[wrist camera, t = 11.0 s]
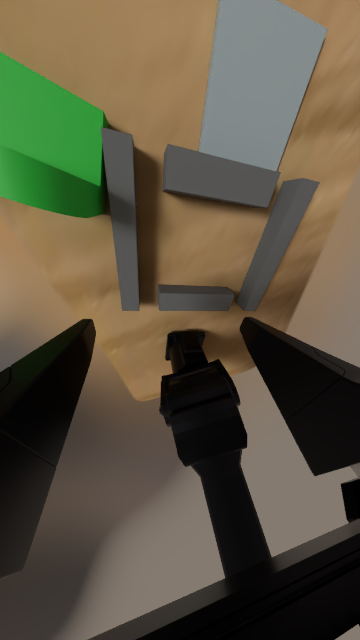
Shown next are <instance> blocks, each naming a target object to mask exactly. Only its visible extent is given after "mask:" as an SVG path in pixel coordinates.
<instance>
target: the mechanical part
mask: <svg viewBox="0 0 360 640" xmlns="http://www.w3.org/2000/svg"><path fill="white" fill-rule="evenodd" d="M100 127H103V128H107V129H108V121H107V119H106V116H105V114H104V112H103V111H102V110H100V109H98V108H96V107H95V106H93V105H91V104H90V103H88V102H86V101H84V100H83V99H81V98H79V97H77V96H76V95H74V94H72V93H70V92H69V91H67V90H65V89H64V88H62V87H60V86H58V85H57V84H55V83H53V82H51V81H50V80H48V79H46V78H45V77H43V76H41V75H39V74H38V73H36V72H34V71H32V70H31V69H29V68H27V67H25V66H24V65H22V64H20V63H19V62H17V61H15V60H13V59H12V58H10V57H8V56H6V55H5V54H3V53H1V52H0V196H1V197H4V198H7V199H10V200H13V201H16V202H19V203H23V204H26V205H29V206H33V207H36V208H40V209H44V210H48V211H52V212H56V213H60V214H64V215H69V216H75V217H82V218H89V217H93V216H98V215H102V214H104V196H105V177H106V169H105V161H104V153H103V144H102V136H101V128H100Z"/></svg>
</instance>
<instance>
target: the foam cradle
mask: <svg viewBox="0 0 360 640" xmlns="http://www.w3.org/2000/svg"><path fill="white" fill-rule="evenodd" d="M100 128H101V136H102V144H103V153H104V161H105V169H106V178H107V186H108V195H109V203H110V211H111V220H112V228H113V237H114V245H115V253H116V262H117V270H118V278H119V287H120V295H121V304H122V311H139V304H140V297H139V270H138V244H137V217H136V190H135V164H134V144H133V138H132V135H130V134H126V133H123V132H119V131H115V130H111V129H107V128H103V127H100ZM280 173H281V172H277V171H273V170H269V169H265V168H261V167H257V166H253V165H249V164H245V163H241V162H237V161H233V160H229V159H225V158H221V157H217V156H213V155H210V154H206V153H202V152H198V151H194V150H190V149H186V148H182V147H178V146H174V145H170V144H168V145H167V147H166V150H165V152H164V169H163V191H165V192H170V193H176V194H181V195H187V196H193V197H198V198H204V199H209V200H215V201H220V202H226V203H231V204H237V205H243V206H248V207H260V208H268V205H269V202H270V200H271V197H272V194H273V191H274V189H275V186H276V183H277V181H278V178H279V175H280ZM319 183H320V182H316V181H312V180H308V179H304V178H301V179H295V180H289V181H283V183H282V186H281V188H280V191H279V194H278V196H277V199H276V201H275V204H274V206H273V209H272V211H271V214H270V217H269V219H268V222H267V224H266V227H265V229H264V232H263V234H262V237H261V240H260V242H259V245H258V247H257V250H256V252H255V255H254V257H253V260H252V263H251V265H250V268H249V270H248V273H247V275H246V278H245V280H244V283H243V286H242V288H241V291H240V293H239V296H238V298H237V301H236V303H237V304H238V305H239V306H240V307H241V308H242V309H243V310H244V311H256V309H257V307H258V305H259V303H260V301H261V299H262V297H263V295H264V293H265V291H266V289H267V287H268V285H269V283H270V281H271V279H272V277H273V275H274V273H275V271H276V269H277V267H278V265H279V263H280V261H281V259H282V257H283V255H284V253H285V251H286V249H287V247H288V245H289V243H290V241H291V239H292V237H293V235H294V233H295V231H296V229H297V227H298V225H299V223H300V221H301V219H302V217H303V215H304V213H305V211H306V209H307V207H308V205H309V203H310V201H311V199H312V197H313V195H314V193H315V191H316V189H317V187H318V185H319ZM234 296H235V295H234V294H233V293H232V292H231V291H230V290H229V289H228V288H227V287H210V286H184V285H158V306H159V311H229V309H230V306H231V304H232V301H233V298H234Z"/></svg>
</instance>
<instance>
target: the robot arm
mask: <svg viewBox="0 0 360 640" xmlns="http://www.w3.org/2000/svg"><path fill="white" fill-rule="evenodd" d="M240 332H241V334H242V337H243V339H244V342H245V344H246V347H247V349H248V351H249V353H250V355H251V357H252V359H253V361H254V363H255V364H256V366H257V368H258V370H259V372H260V374H261V376H262V378H263V380H264V382H265V383H266V385H267V387H268V389H269V391H270V393H271V395H272V397H273V399H274V401H275V403H276V405H277V406H278V408H279V410H280V412H281V414H282V416H283V418H284V420H285V422H286V424H287V426H288V428H289V430H290V431H291V433H292V435H293V437H294V439H295V441H296V443H297V445H298V446H299V449H300V451H301V452H302V454H303V456H304V458H305V460H306V462H307V464H308V466H309V468H310V470H311V471H312V473H313V474H314V476H318V475H321V474H324V473H328V472H331V471H334V470H338V469H341V468H344V467H348V466H350V467H351V468H352V469H353V471H354V472H355V473H356V475H357V476H358V478H356V479H353V480H350V481H348V482H344V483H342V484H341V489H342V494H343V500H344V506H345V511H346V518H347V520H348V522H349V523H348V524H346V525H344V526H342V527H339V528H337V529H335V530H333V531H331V532H328V533H326V534H324V535H321V536H319V537H317V538H315V539H313V540H310V541H308V542H306V543H303V544H301V545H299V546H297V547H295V548H292V549H290V550H288V551H286V552H283V553H281V554H279V555H277V556H274V557H271V554H270V551H269V548H268V545H267V543H266V539H265V536H264V533H263V530H262V528H261V525H260V522H259V519H258V516H257V513H256V510H255V507H254V504H253V501H252V498H251V495H250V492H249V489H248V486H247V483H246V480H245V477H244V474H243V471H242V468H241V465H240V463H241V454H242V449H245V448H247V433H246V430H245V428H244V424H243V421H242V418H241V416H240V413H239V410H238V407H237V406H239V405H240V399H239V395H238V392H237V390H236V387H235V385H234V383H233V381H232V379H231V377H230V376H229V374H228V372H227V371H226V369H225V368H224V366H223V365H222V363H221V362H220V360H219V359H217V360H215V361H213V362H209V363H208V361H207V358H206V356H205V354H204V351H203V349H202V345H203V341H204V338H205V333H204V332H182V333H169V334H168V335H167V345H166V355H165V359H166V360H171V365H172V371H173V374H169V375H164V376H162V381H161V403H160V409H159V411H160V414H161V415H163V416H164V419H165V421H166V424H167V426H168V427H172V431H173V436H174V440H175V444H176V448H177V453H178V457H179V458H180V460H181V461H182V463H183V464H184V466H186V467H187V466H190V465H191V467H192V468H193V469H194V470H195V471H196V472H197V474H198V475H199V476H200V478H201V482H202V485H203V489H204V494H205V498H206V502H207V506H208V509H209V513H210V518H211V522H212V525H213V530H214V534H215V538H216V542H217V546H218V550H219V554H220V558H221V562H222V566H223V570H224V574H225V579H223V580H221V581H218V582H216V583H214V584H212V585H209V586H207V587H205V588H203V589H200V590H198V591H196V592H194V593H191V594H189V595H187V596H185V597H182V598H180V599H178V600H176V601H173V602H171V603H169V604H167V605H164V606H162V607H160V608H158V609H155V610H153V611H151V612H149V613H146V614H144V615H142V616H140V617H137V618H135V619H133V620H131V621H128V622H126V623H124V624H122V625H119V626H117V627H115V628H113V629H111V630H108V631H106V632H104V633H102V634H99V635H97V636H95V637H93V638H90V639H88V640H335V639H336V638H338V637H339V636H341V635H342V634H344V633H345V632H347V631H348V630H350V629H351V628H353V627H354V626H355V625H357V624H359V626H360V368H359V367H357V366H355V365H352V364H350V363H348V362H345V361H343V360H341V359H339V358H337V357H334V356H332V355H330V354H328V353H326V352H323V351H321V350H319V349H317V348H315V347H313V346H310V345H308V344H306V343H304V342H302V341H300V340H298V339H296V338H294V337H292V336H290V335H287V334H286V333H284V332H282V331H279V330H277V329H275V328H273V327H271V326H269V325H267V324H265V323H263V322H261V321H259V320H257V319H254V318H252V317H245V318H244V319H243V321H242V324H241V326H240ZM202 334H203V335H202ZM95 337H96V330H95V327H94V323H93V320H92V319H82V320H81V321H79V322H77V323H76V324H74V325H73V326H71V327H70V328H68V329H67V330H65V331H63V332H62V333H61V334H59V335H57V336H56V337H54V338H53V339H51V340H50V341H48V342H47V343H45V344H43V345H42V346H40V347H39V348H37V349H36V350H34V351H32V352H31V353H29V354H28V355H26V356H25V357H23V358H22V359H20V360H19V361H17V362H15V363H14V364H12V365H11V367H8V368H6V369H4V370H3V371H1V372H0V579H2V578H5V577H7V576H10V575H13V574H16V573H18V572H21V571H22V570H23V568H24V565H25V563H26V560H27V557H28V554H29V551H30V548H31V545H32V542H33V538H34V535H35V532H36V529H37V526H38V523H39V520H40V516H41V514H42V511H43V508H44V505H45V501H46V498H47V495H48V492H49V489H50V486H51V483H52V480H53V477H54V474H55V471H56V466H57V464H58V461H59V458H60V455H61V452H62V449H63V446H64V443H65V439H66V436H67V433H68V430H69V427H70V424H71V421H72V418H73V415H74V411H75V409H76V406H77V403H78V400H79V396H80V393H81V390H82V387H83V384H84V381H85V378H86V375H87V372H88V369H89V366H90V362H91V358H92V353H93V348H94V342H95Z"/></svg>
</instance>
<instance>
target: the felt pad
mask: <svg viewBox="0 0 360 640" xmlns="http://www.w3.org/2000/svg"><path fill="white" fill-rule="evenodd" d="M327 30H328V29H327V28H325V27H324V26H322V25H320V24H318V23H316V22H315V21H313V20H311V19H309V18H308V17H306V16H304V15H302V14H301V13H299V12H297V11H295V10H293V9H292V8H290V7H288V6H286V5H285V4H283V3H281V2H279V1H278V0H219V3H218V11H217V18H216V26H215V33H214V41H213V48H212V55H211V63H210V70H209V78H208V85H207V93H206V100H205V107H204V115H203V122H202V130H201V137H200V145H199V152H202V153H206V154H210V155H213V156H217V157H221V158H225V159H229V160H233V161H237V162H241V163H245V164H249V165H253V166H257V167H261V168H265V169H269V170H273V171H277V168H278V165H279V163H280V160H281V157H282V154H283V152H284V149H285V146H286V143H287V140H288V138H289V135H290V132H291V129H292V127H293V124H294V121H295V118H296V116H297V113H298V110H299V107H300V104H301V102H302V99H303V96H304V93H305V91H306V88H307V85H308V82H309V80H310V77H311V74H312V71H313V68H314V66H315V63H316V60H317V57H318V55H319V52H320V49H321V46H322V43H323V41H324V38H325V35H326V32H327Z"/></svg>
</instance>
